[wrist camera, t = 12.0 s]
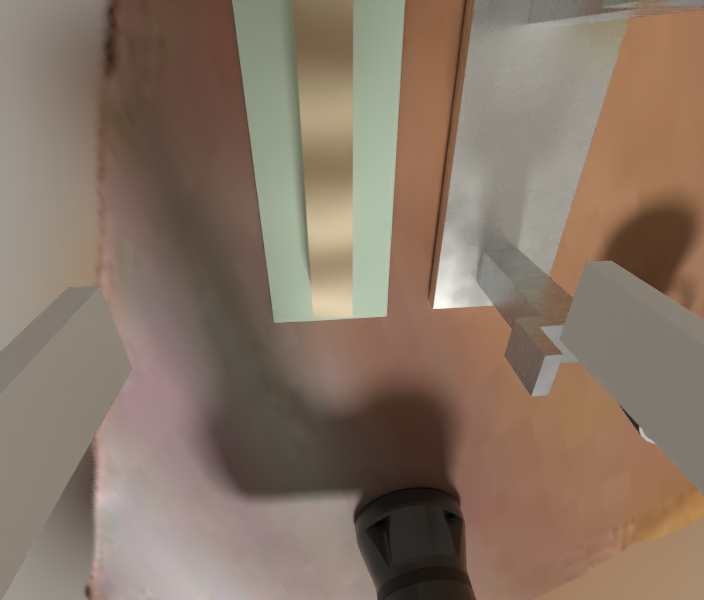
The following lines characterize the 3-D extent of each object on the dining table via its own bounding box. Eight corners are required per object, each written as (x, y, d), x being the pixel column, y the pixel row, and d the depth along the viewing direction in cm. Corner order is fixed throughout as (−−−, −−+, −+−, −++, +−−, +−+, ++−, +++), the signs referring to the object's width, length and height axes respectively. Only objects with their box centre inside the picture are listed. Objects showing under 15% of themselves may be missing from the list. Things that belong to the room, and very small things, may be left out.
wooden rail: (347, 289, 33) (352, 316, 30) (312, 291, 33) (313, 318, 29) (345, -56, 21) (353, -77, 18) (290, -57, 21) (288, -79, 18)
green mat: (384, 311, 36) (386, 316, 35) (274, 317, 35) (274, 322, 34) (409, -125, 21) (412, -131, 20) (216, -133, 20) (213, -140, 19)
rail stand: (532, 294, 36) (648, 414, 24) (428, 299, 35) (493, 428, 23) (645, -90, 22) (1053, -264, 10) (478, -96, 22) (706, -295, 9)
